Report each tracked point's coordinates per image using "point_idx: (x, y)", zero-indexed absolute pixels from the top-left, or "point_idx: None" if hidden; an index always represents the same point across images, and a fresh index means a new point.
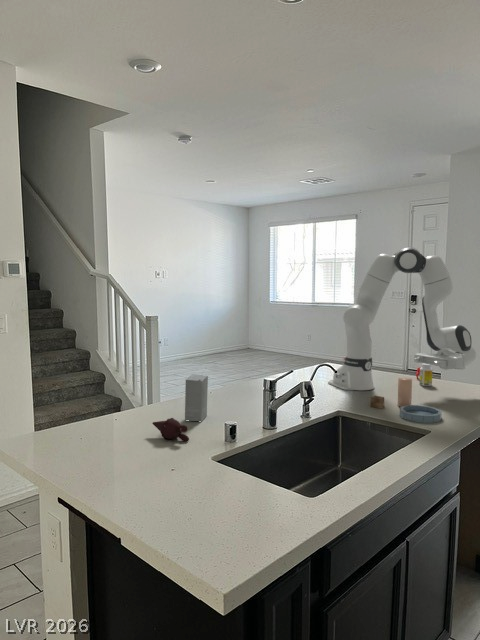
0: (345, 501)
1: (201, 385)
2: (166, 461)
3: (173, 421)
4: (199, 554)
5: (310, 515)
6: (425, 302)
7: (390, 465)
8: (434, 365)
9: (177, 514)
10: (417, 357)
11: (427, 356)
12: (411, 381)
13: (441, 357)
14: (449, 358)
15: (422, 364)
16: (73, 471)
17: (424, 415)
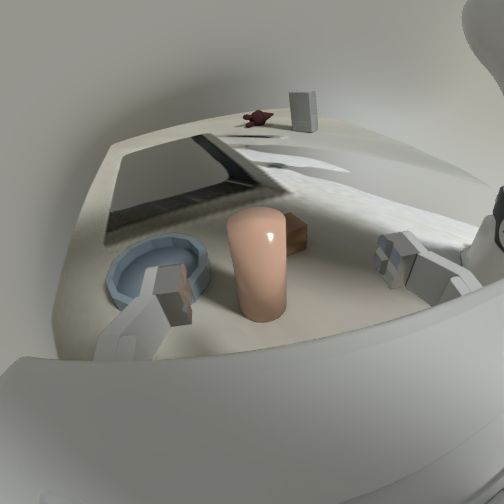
0: (107, 163)
1: (289, 96)
2: (218, 126)
3: (254, 112)
4: (130, 139)
5: (114, 155)
6: None
7: (104, 184)
8: (191, 292)
9: (159, 133)
10: (441, 256)
11: (422, 310)
12: (228, 235)
13: (198, 393)
14: (66, 407)
15: None
16: (231, 116)
17: (127, 249)
